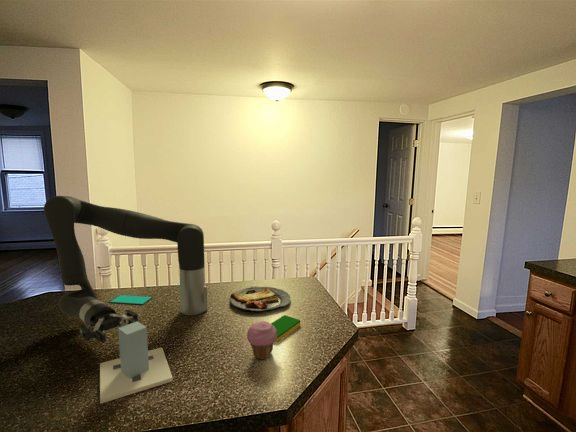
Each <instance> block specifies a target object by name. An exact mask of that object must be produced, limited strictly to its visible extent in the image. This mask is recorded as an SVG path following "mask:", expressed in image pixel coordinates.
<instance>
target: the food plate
mask: <svg viewBox="0 0 576 432" xmlns="http://www.w3.org/2000/svg"><path fill="white" fill-rule="evenodd" d="M228 300H229V301H230V304H231V305H232V306H233V307H236V308H238V309H242V310H244V311H250V312H255V311H256V312H261V311H263V312H264V311H265V312H266V311H267V312H268V311H269V312H271V311H272V310H275V309H277V308H279V307H280V308H281V307H286V306H287V305H288V304H290V303H291V295H290V294H289V293H288V292H287V291H284V289H280V288H277V287H272V286H251V287H247V288H243V289H239V290H236V291H235V292H232V293H231V294H230V298H229V299H228ZM279 301H280V302H279ZM276 303H277V304H276Z"/></svg>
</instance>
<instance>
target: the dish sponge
mask: <svg viewBox="0 0 576 432" xmlns="http://www.w3.org/2000/svg"><path fill="white" fill-rule="evenodd" d="M270 324H272V325H273V326H274V327H275V328H276V330H277V338H276V340H275V342H274V343H279V342H281V341H282V340H283V339H285V337H287V336H288V335H290V334H292V333H293V331H296V330H297V328H299V327H301V319H298V318H295V317H293V316H289V315H287V314H284V315H282V316H281V317H279V318H277V319H276V320H274V321H273V322H271V323H270Z"/></svg>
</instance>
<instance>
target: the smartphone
mask: <svg viewBox="0 0 576 432" xmlns="http://www.w3.org/2000/svg"><path fill="white" fill-rule="evenodd" d="M152 299H153V296H145V295H144V296H142V295H127V294H120V295H118V296H115V297H114V298H113V299H111V300H109V301H108V303H109V304H120V305H124V304H125V305H134V306H145V304H147V303H148V302H149V301H151V300H152Z"/></svg>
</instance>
